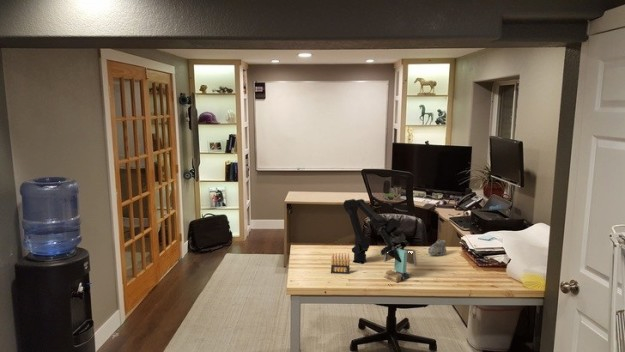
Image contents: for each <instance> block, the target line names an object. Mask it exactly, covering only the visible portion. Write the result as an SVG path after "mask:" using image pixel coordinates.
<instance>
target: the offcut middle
mask: <svg viewBox="0 0 625 352" xmlns="http://www.w3.org/2000/svg"><path fill="white" fill-rule="evenodd" d="M384 275H385V276H388V277H390V278H393V279H395V280H397V279H400V278H401V277H400V278H395V277H393V276H390V275H388V274H386V272H385V273H384Z"/></svg>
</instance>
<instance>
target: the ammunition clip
mask: <svg viewBox="0 0 625 352" xmlns="http://www.w3.org/2000/svg"><path fill="white" fill-rule="evenodd" d="M330 261H331V262H330V266H331V267H330V274H334V275H335V274H337V275H338V274H339V275H341V274H342V275H350V268H351V267H350V264H351V263H350V254H349V253H347V254H346V253H340V252H338V254H337V253H335V255H334V252H332V254H331V260H330Z"/></svg>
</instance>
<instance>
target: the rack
mask: <svg viewBox="0 0 625 352" xmlns="http://www.w3.org/2000/svg"><path fill="white" fill-rule="evenodd" d="M395 272H397V273H400V272H398V271H396V270H395ZM400 274H402V277H401V281H399V282H395V281H392V280H390V279H388V280H389V281H392V282H394V283H396V284H399V283H403V282H404V281H407V280H409V279H411V273H409V272H407V271H406V272H405V273H400ZM383 278H384V279H386V278H385V276H383Z"/></svg>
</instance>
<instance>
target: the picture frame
mask: <svg viewBox="0 0 625 352" xmlns="http://www.w3.org/2000/svg"><path fill="white" fill-rule="evenodd" d="M404 250H405V251H413V253H412V254H411V253H410V252H409V253H407V265H410V266H411V265H414V266H416V265H417V263H416V255H415V254H416V253H415V249H413V248H412V249H411V248H404ZM388 254H389V253H387V252H386V255H383V263H387V264H388V263H389V264H395V261H391V260H395V259H394V258H393V257H391V256H389V255H388Z"/></svg>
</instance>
